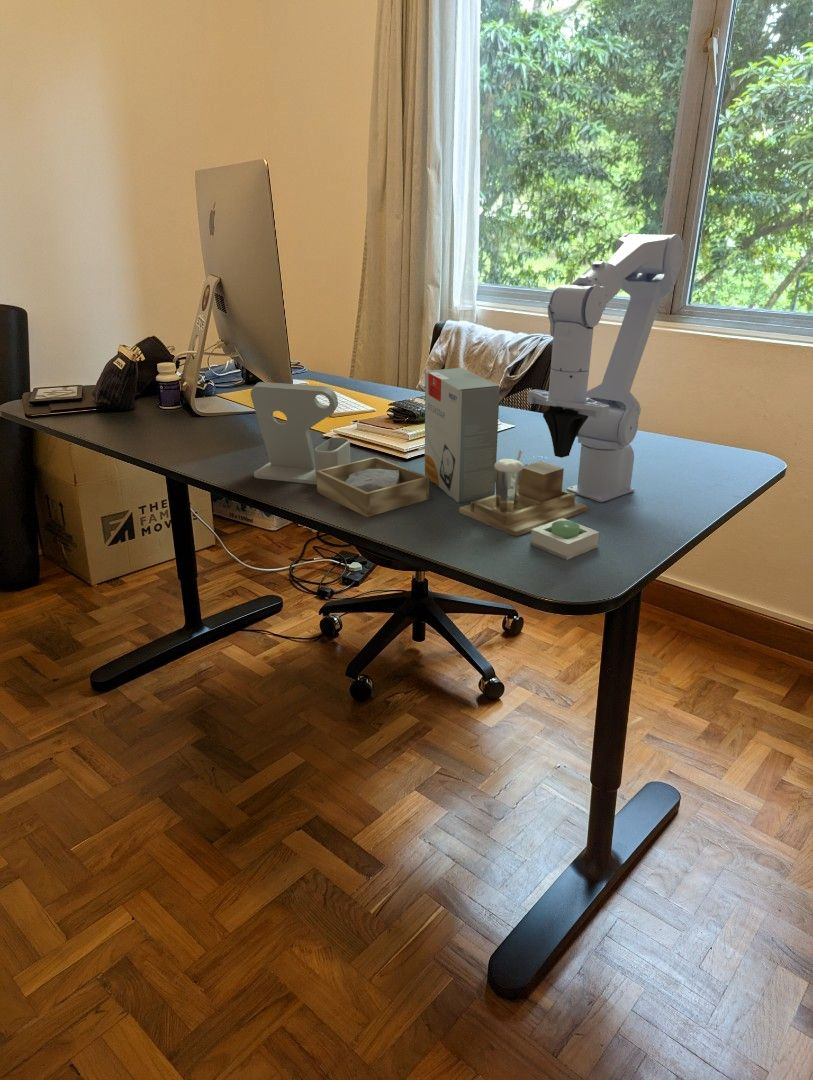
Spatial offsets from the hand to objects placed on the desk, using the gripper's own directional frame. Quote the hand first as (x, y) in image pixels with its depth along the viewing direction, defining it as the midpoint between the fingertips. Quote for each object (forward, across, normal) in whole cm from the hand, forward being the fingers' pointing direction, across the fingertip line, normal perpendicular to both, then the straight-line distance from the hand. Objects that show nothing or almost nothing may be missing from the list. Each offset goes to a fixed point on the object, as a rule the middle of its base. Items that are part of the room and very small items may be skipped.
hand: (561, 455), depth 118 cm
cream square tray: (+11, +8, -8) cm, 16 cm away
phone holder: (+11, -45, -20) cm, 51 cm away
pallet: (+10, -5, -2) cm, 12 cm away
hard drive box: (+11, -21, -2) cm, 24 cm away
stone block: (+11, -27, -18) cm, 34 cm away
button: (+10, +8, -8) cm, 15 cm away
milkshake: (+10, -5, -6) cm, 13 cm away
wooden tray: (+11, -27, -17) cm, 34 cm away
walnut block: (+10, -5, +2) cm, 11 cm away
